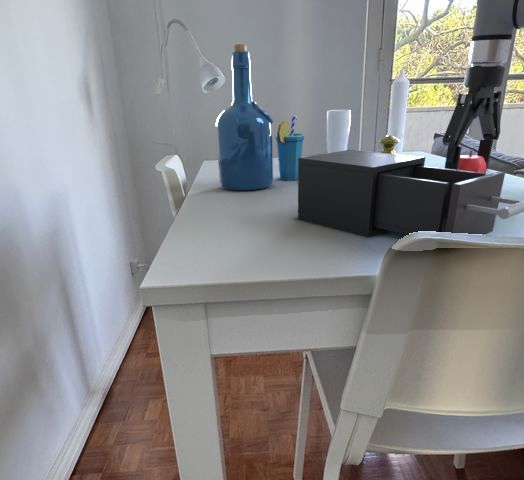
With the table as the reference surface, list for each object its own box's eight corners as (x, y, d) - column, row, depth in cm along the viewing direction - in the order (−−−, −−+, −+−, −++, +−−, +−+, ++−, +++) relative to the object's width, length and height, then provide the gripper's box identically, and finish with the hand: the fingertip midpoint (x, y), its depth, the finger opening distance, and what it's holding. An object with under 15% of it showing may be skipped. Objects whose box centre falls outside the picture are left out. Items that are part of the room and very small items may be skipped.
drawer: (533, 239, 71) (549, 177, 66) (491, 258, 64) (506, 191, 59) (409, 214, 85) (415, 162, 81) (364, 228, 78) (368, 172, 74)
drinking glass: (350, 167, 139) (353, 110, 131) (327, 168, 138) (329, 111, 131) (344, 163, 145) (347, 109, 137) (323, 164, 144) (324, 110, 137)
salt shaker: (406, 177, 122) (411, 135, 117) (386, 181, 118) (390, 138, 113) (384, 174, 127) (388, 133, 122) (365, 177, 124) (368, 136, 119)
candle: (404, 164, 141) (414, 66, 129) (406, 167, 135) (417, 66, 123) (379, 164, 142) (388, 68, 130) (380, 167, 136) (389, 67, 124)
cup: (283, 173, 133) (282, 114, 126) (309, 173, 131) (311, 113, 124) (269, 182, 122) (268, 118, 114) (298, 183, 120) (299, 117, 112)
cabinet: (417, 220, 85) (425, 157, 80) (368, 236, 78) (374, 167, 72) (346, 206, 96) (349, 149, 91) (297, 218, 89) (298, 157, 84)
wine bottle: (218, 192, 112) (207, 43, 97) (221, 182, 124) (212, 47, 109) (275, 190, 112) (273, 41, 97) (273, 180, 124) (271, 45, 109)
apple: (457, 191, 105) (464, 153, 101) (440, 185, 112) (445, 149, 108) (490, 189, 106) (498, 151, 102) (471, 183, 113) (477, 147, 109)
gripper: (497, 65, 106) (477, 165, 117) (436, 66, 93) (419, 178, 103) (531, 64, 101) (507, 168, 112) (471, 65, 88) (450, 183, 98)
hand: (465, 173), depth 108 cm, fingers open, 13 cm apart
